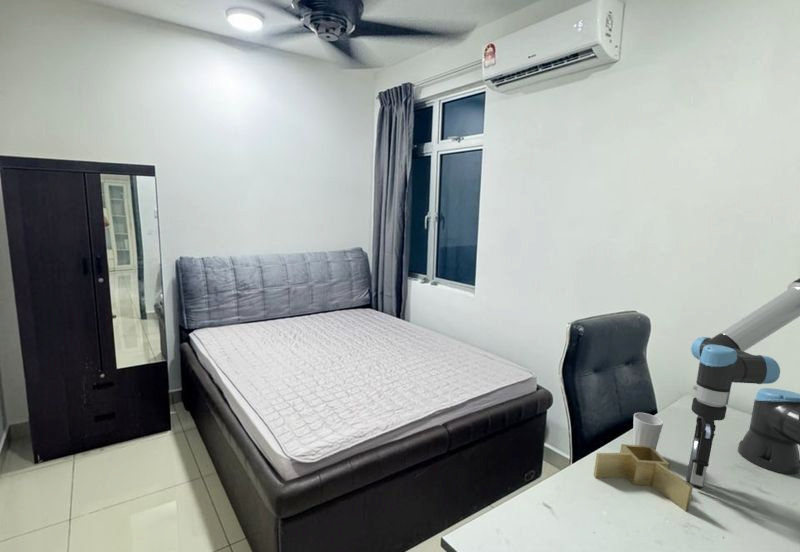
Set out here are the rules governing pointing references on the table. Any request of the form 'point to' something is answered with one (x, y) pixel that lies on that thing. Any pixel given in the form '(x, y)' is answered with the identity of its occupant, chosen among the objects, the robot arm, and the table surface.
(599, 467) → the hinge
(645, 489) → the table surface
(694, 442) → the pin
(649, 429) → the cup
